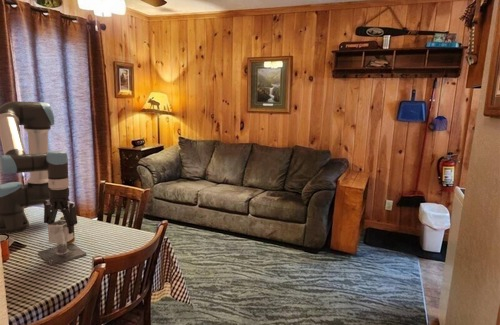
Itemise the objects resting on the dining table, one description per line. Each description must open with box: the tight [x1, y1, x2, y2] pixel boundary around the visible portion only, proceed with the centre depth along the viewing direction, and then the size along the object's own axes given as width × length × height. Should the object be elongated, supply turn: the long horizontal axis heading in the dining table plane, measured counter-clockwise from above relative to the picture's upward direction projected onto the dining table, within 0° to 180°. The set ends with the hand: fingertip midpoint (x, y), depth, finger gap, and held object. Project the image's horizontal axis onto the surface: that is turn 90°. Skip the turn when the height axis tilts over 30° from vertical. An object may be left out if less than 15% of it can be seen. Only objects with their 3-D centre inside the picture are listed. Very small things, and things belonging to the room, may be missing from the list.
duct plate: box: [37, 243, 87, 267], centre depth 144 cm, size 15×14×10 cm
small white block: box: [47, 219, 73, 244], centre depth 142 cm, size 8×7×8 cm
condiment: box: [54, 215, 77, 247], centre depth 157 cm, size 7×8×12 cm
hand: (61, 239), depth 143 cm, fingers closed on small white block, 7 cm apart
